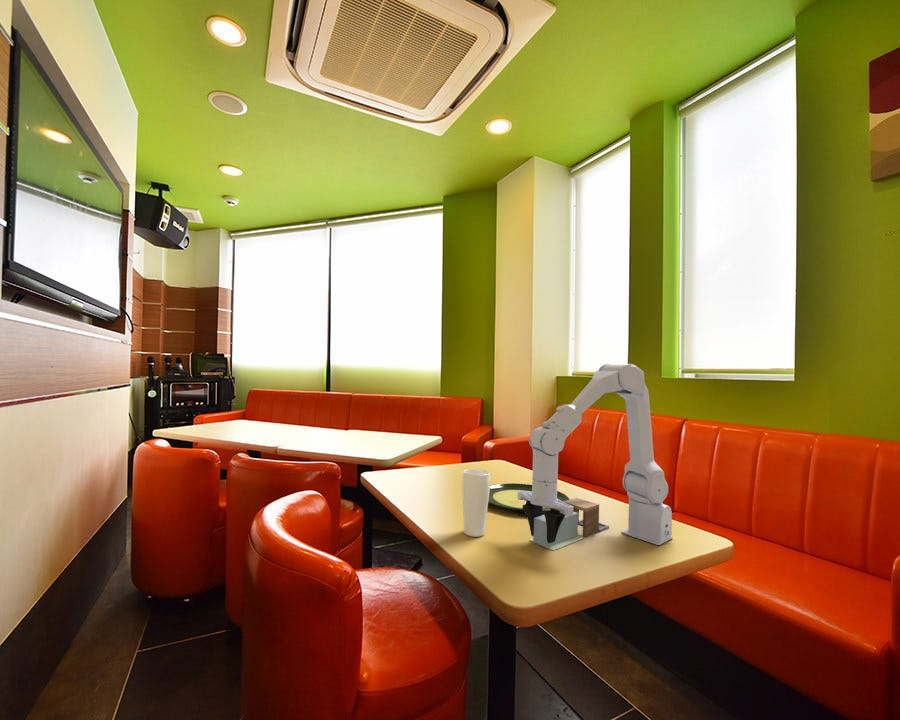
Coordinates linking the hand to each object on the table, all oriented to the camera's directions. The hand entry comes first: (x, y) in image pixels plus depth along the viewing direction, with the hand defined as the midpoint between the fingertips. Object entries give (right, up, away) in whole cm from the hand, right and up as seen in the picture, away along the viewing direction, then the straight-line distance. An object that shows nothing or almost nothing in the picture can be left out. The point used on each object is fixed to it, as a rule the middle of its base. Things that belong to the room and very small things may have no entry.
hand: (543, 538), depth 96 cm
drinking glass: (-16, -1, +5) cm, 17 cm away
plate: (+1, -3, +32) cm, 32 cm away
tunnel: (+12, -2, +10) cm, 15 cm away
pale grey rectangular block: (+4, -2, +3) cm, 5 cm away
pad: (+4, -2, +3) cm, 5 cm away
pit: (+16, -2, +13) cm, 21 cm away
